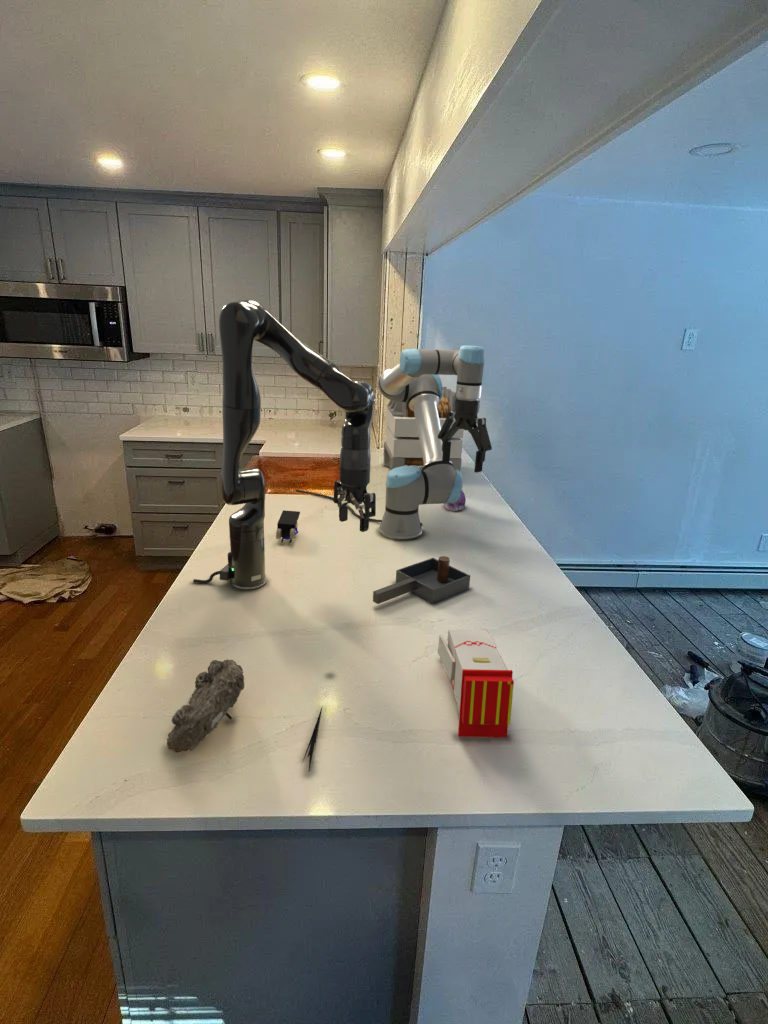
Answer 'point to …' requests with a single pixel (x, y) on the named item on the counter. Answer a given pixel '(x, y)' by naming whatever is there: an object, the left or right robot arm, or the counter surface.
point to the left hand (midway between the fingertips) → (353, 525)
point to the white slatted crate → (416, 434)
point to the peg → (443, 569)
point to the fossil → (206, 705)
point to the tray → (424, 583)
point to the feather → (313, 740)
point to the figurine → (457, 503)
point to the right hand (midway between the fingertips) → (461, 466)
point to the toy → (478, 682)
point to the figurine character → (287, 525)
